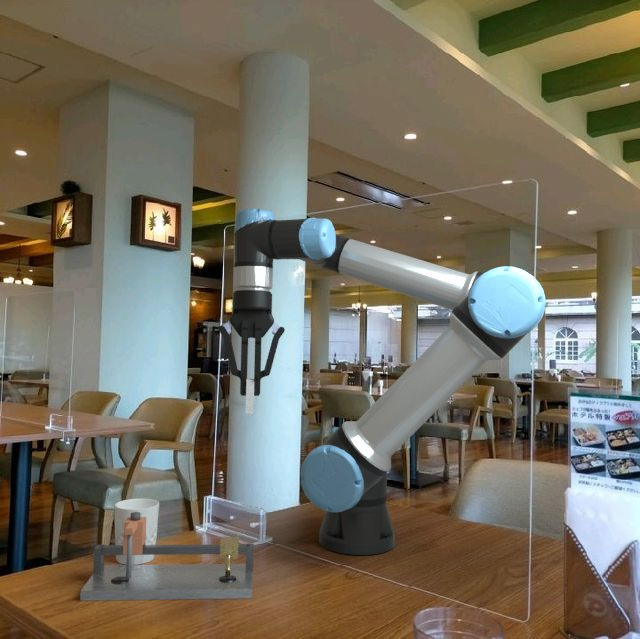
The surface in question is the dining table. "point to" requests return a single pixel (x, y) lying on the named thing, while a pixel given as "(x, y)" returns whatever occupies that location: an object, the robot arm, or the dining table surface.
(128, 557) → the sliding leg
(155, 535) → the white cup
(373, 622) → the dining table surface
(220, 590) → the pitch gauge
